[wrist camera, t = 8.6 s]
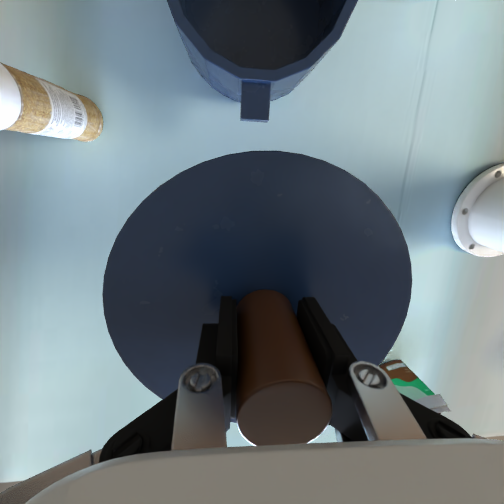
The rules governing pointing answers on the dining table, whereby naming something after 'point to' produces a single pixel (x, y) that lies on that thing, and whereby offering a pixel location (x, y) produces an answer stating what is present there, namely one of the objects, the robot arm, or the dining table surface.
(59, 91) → the sprinkles bottle
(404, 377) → the food container
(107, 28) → the dining table surface
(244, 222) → the pot lid
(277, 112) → the dining table surface
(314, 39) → the pot
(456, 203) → the robot arm
